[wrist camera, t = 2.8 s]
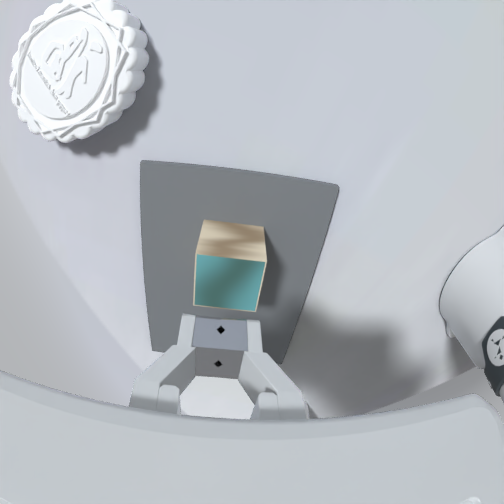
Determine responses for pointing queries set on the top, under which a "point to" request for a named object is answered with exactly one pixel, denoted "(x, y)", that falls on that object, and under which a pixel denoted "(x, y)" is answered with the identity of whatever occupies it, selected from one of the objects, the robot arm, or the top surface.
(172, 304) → the rubber mat
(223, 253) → the maple block
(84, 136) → the white mooncake
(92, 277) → the top surface
